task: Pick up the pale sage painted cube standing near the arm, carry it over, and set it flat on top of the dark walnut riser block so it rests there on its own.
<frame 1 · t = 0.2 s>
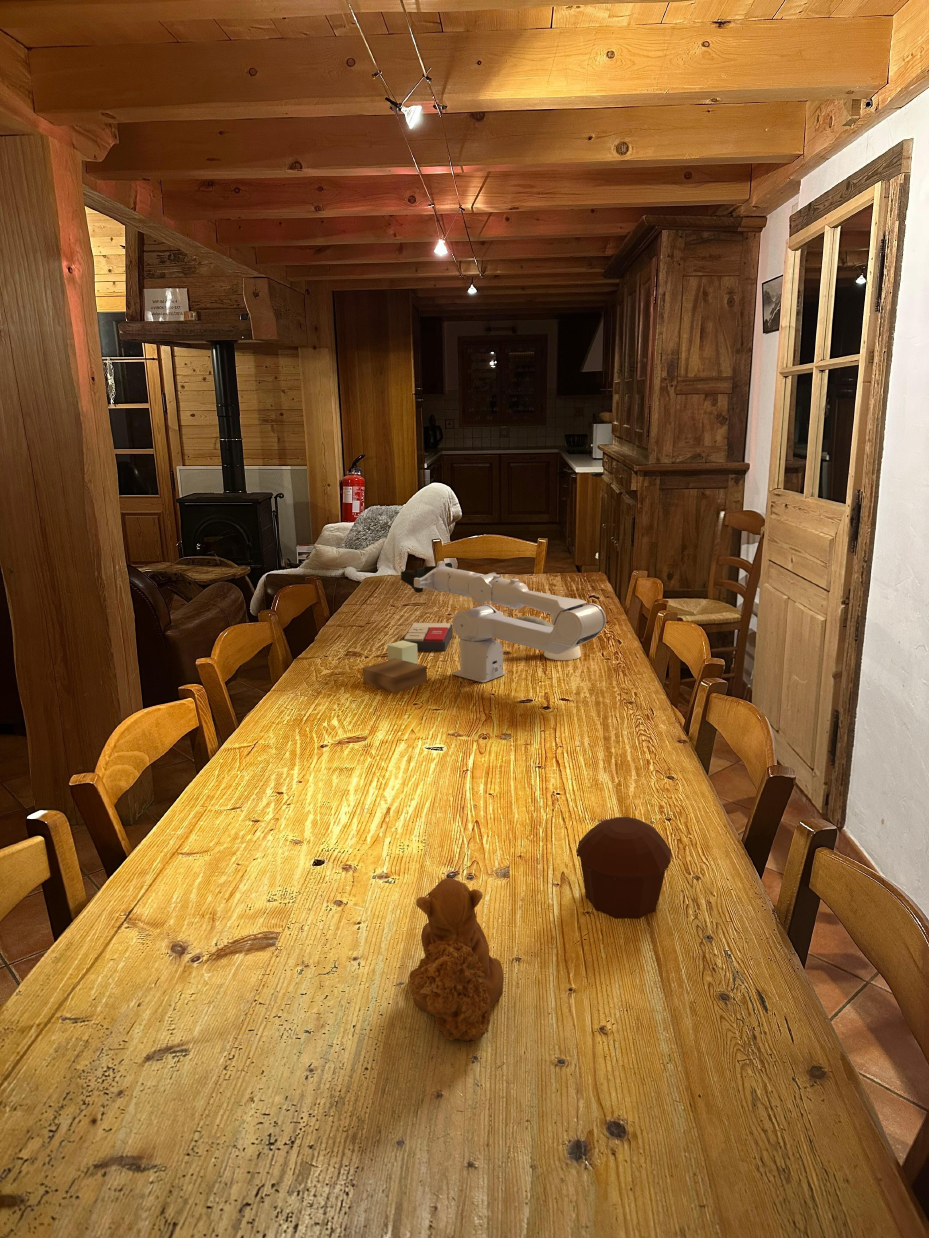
hand: (413, 573, 198), 21 cm above the table, tool horizontal, fingers open, 7 cm apart
walnut riser: (395, 684, 186), on the table
red cream box: (428, 645, 218), on the table
muffin: (622, 900, 103), on the table
inkwell: (544, 656, 205), on the table
stuffed squirrel: (457, 1012, 85), on the table
sage cube: (402, 664, 200), on the table
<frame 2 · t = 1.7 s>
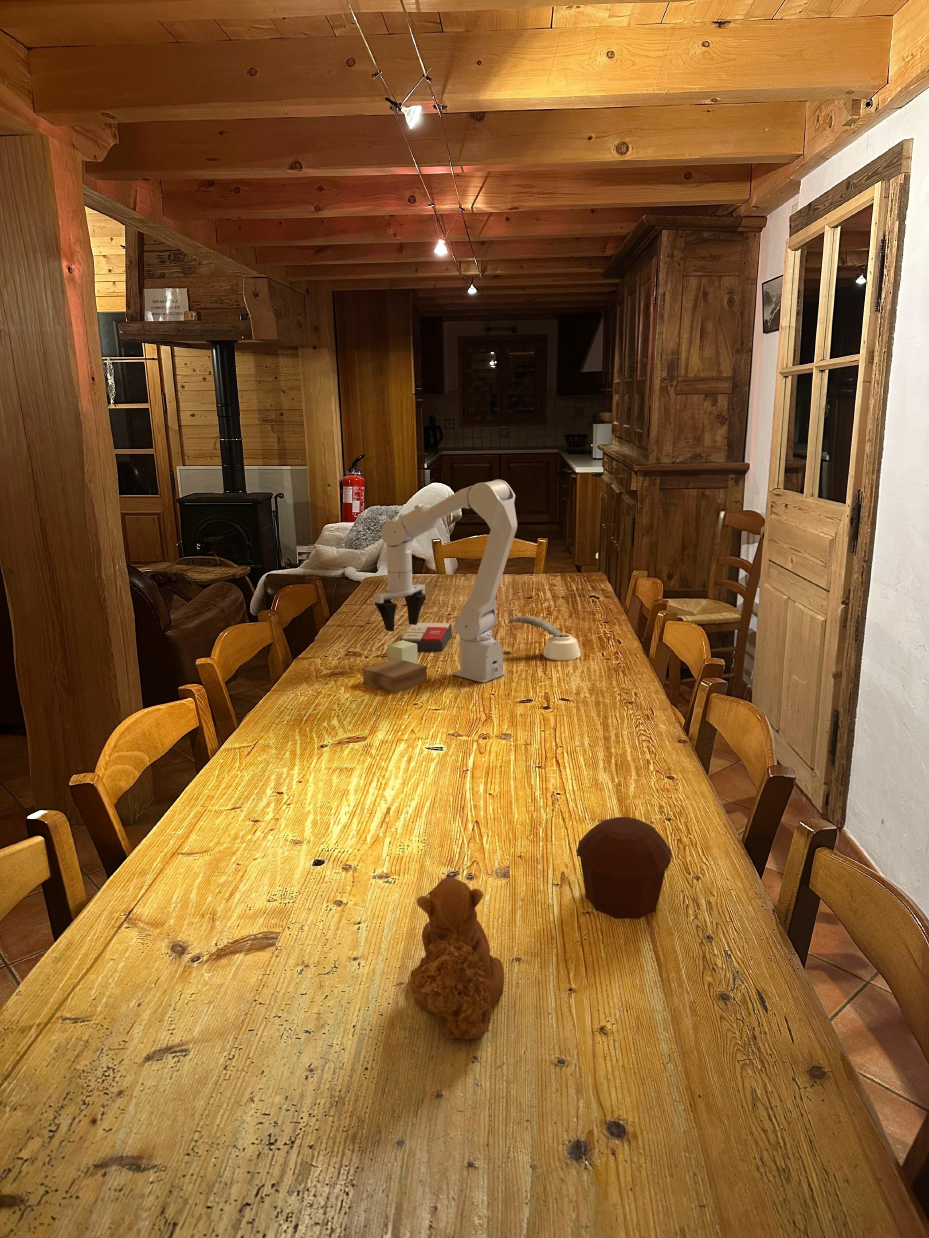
hand: (401, 627, 198), 9 cm above the table, tool pointing down, fingers open, 7 cm apart
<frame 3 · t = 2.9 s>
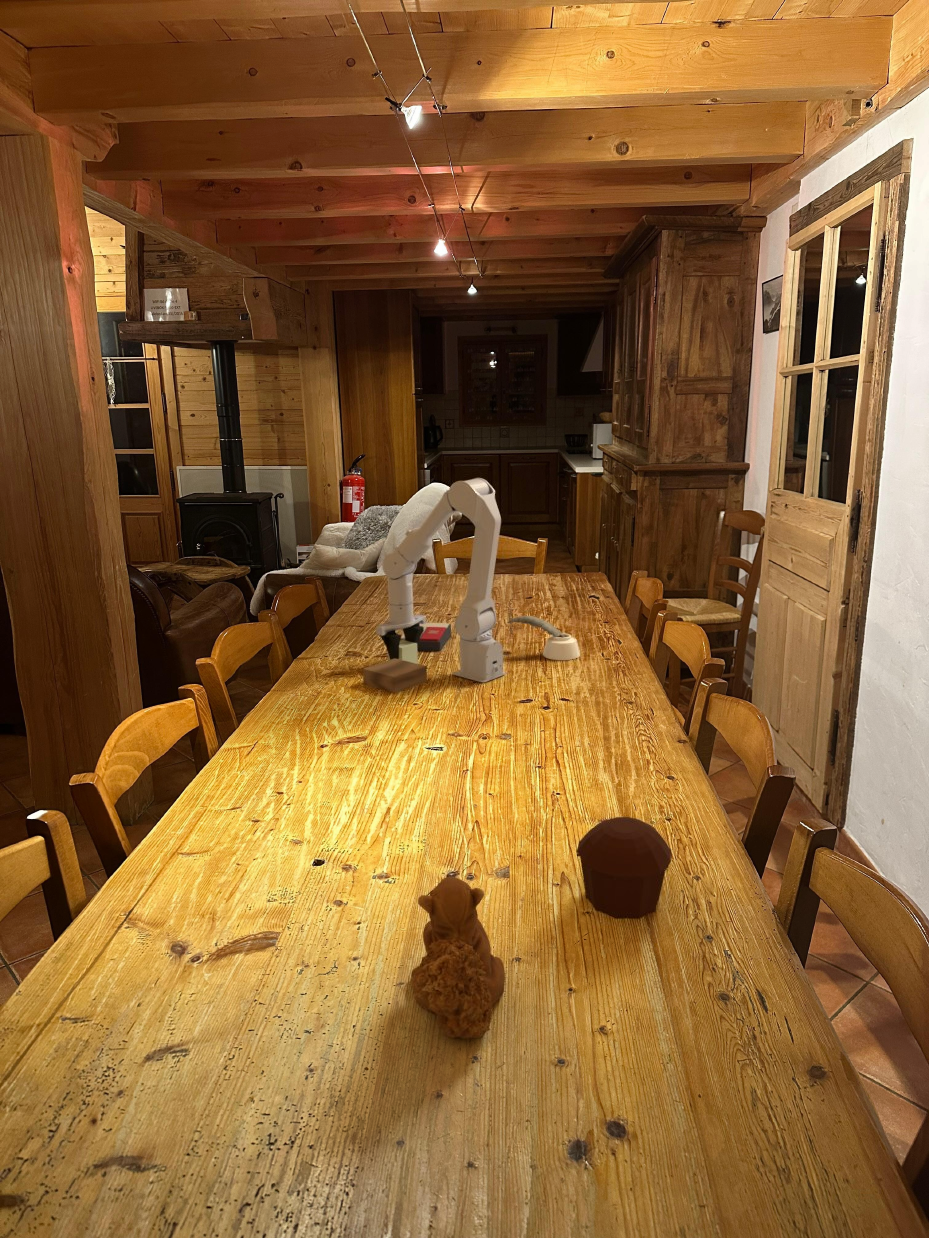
hand: (402, 658, 200), 1 cm above the table, tool pointing down, fingers closed on sage cube, 5 cm apart
sage cube: (402, 663, 200), on the table, touching gripper
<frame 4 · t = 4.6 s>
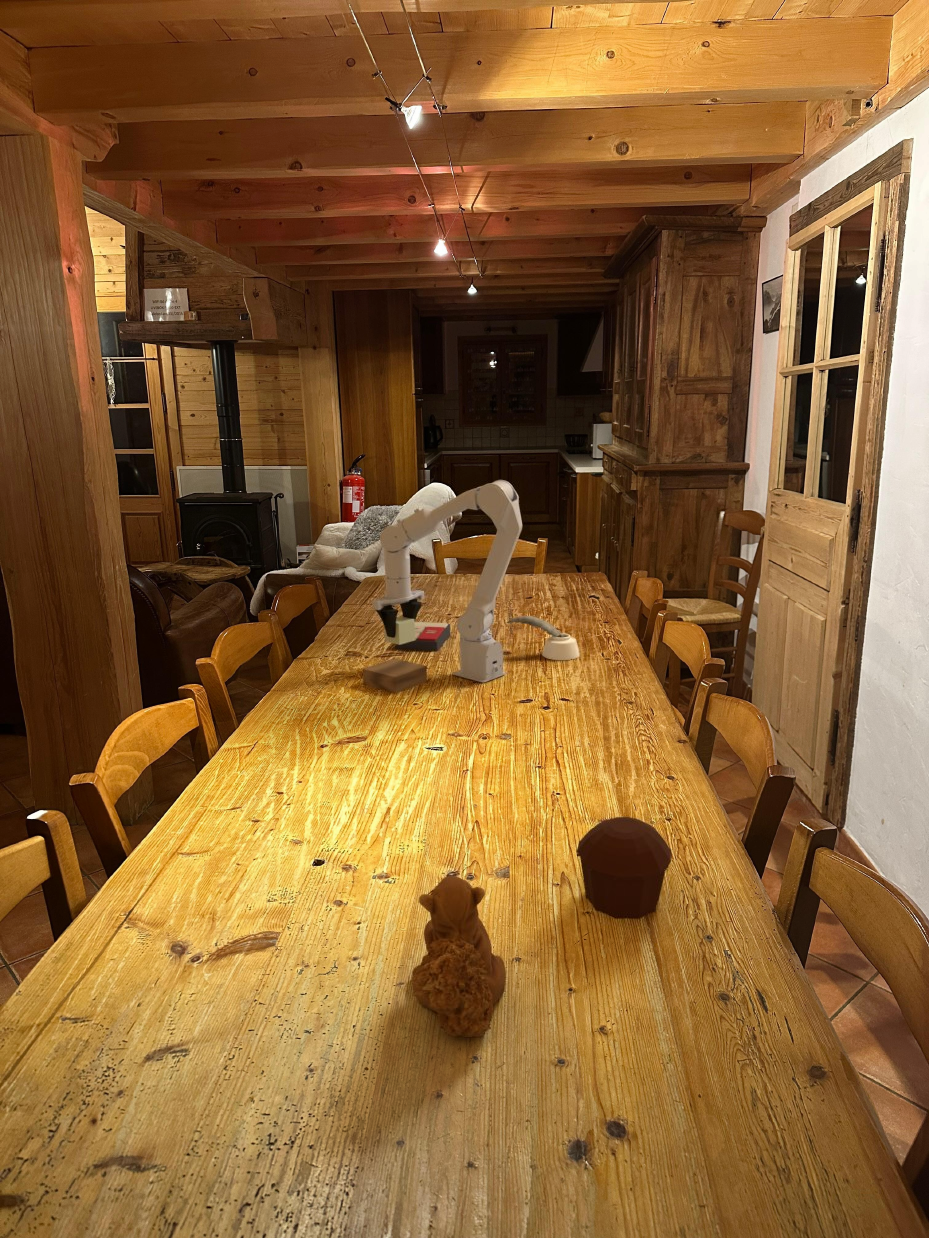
hand: (400, 634, 194), 8 cm above the table, tool pointing down, fingers closed on sage cube, 5 cm apart
sage cube: (400, 640, 195), point 7 cm above the table, touching gripper
when the fingers open (6 cm above the table, at t = 6.2 s): sage cube stays where it is, point 4 cm above the table.
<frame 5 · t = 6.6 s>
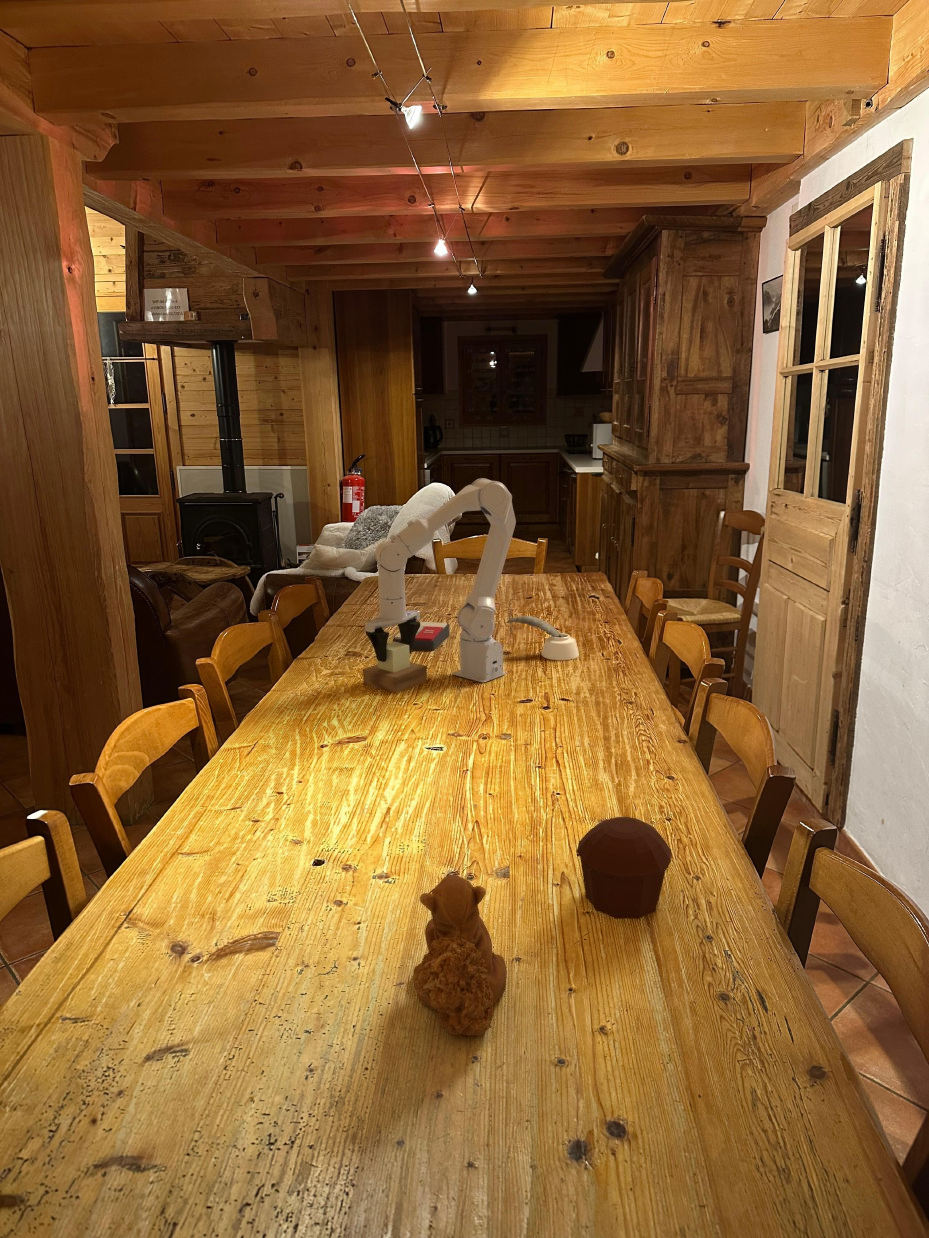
hand: (394, 657, 185), 6 cm above the table, tool pointing down, fingers open, 7 cm apart
sage cube: (394, 667, 185), point 4 cm above the table
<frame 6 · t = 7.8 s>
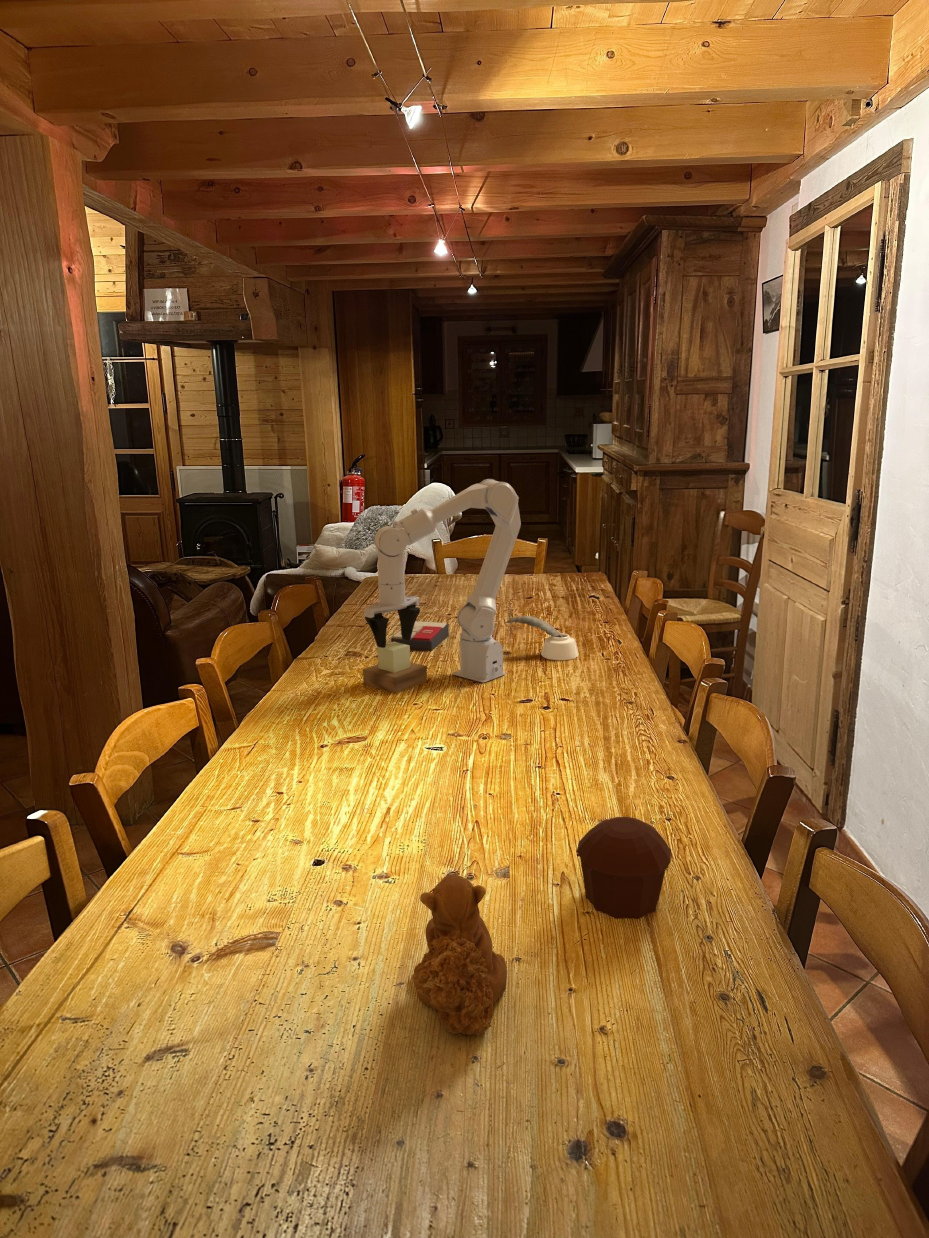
hand: (394, 643, 184), 9 cm above the table, tool pointing down, fingers open, 7 cm apart
walnut riser: (395, 684, 186), on the table, touching sage cube
sage cube: (394, 667, 185), point 4 cm above the table, touching walnut riser
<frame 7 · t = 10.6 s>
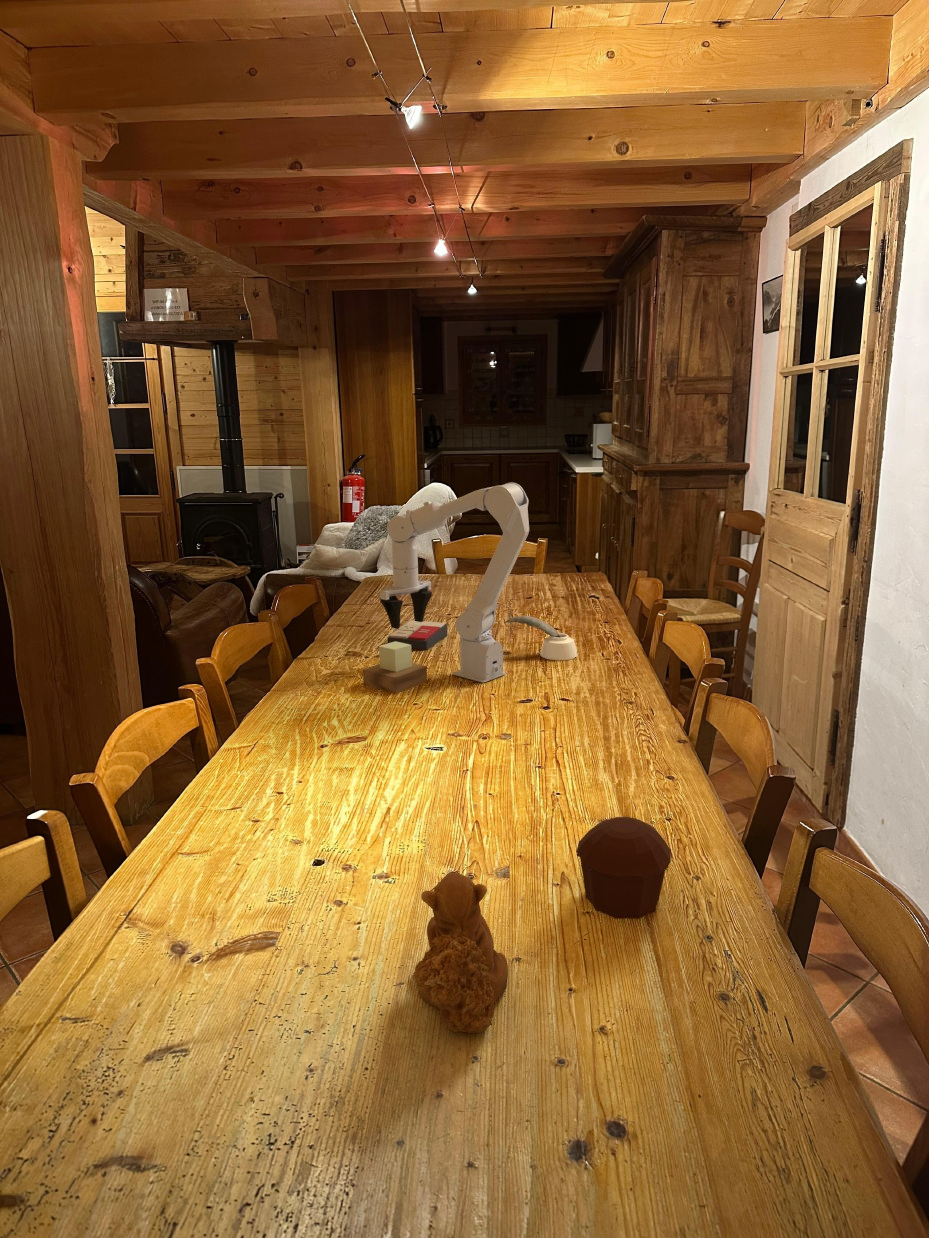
hand: (407, 624, 195), 10 cm above the table, tool pointing down, fingers open, 7 cm apart
at the end: sage cube 0.5 cm off-centre on the walnut riser, point 4.0 cm above the walnut riser's base; sage cube tilted 1°; the gripper is holding nothing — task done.
